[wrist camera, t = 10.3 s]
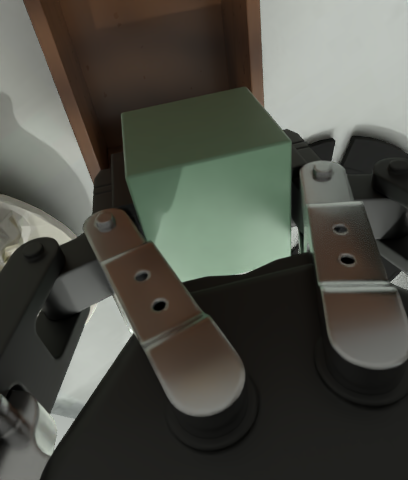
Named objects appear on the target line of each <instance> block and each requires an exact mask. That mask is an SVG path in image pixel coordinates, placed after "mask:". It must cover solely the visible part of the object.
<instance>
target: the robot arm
mask: <svg viewBox="0 0 408 480" xmlns="http://www.w3.org/2000/svg"><path fill="white" fill-rule="evenodd" d="M283 131H284V132H285V134H286V135H287V136H288V137H289V138H290V139H291V142H292V157H291V227H294V226H297V227H298V244H299V253H300V254H297V255H293V256H289V257H285V258H280V259H276V260H274V261H272V262H270V263H268V264H266V265H264V266H261V267H259V268H257V269H255V270H253V271H251V272H249V273H246V274H242V275H223V276H206V277H202V278H197V279H193V280H189V281H185V282H181V280H180V279H179V278H178V276H177V275H176V273H175V272H174V271H173V269H172V268H171V266H170V265H169V264H168V262H167V261H166V259H165V258H164V257H163V255H162V254H161V252H160V251H159V250H158V248H157V247H156V245H155V244H154V243H153V242H152V241H151V240H149V241H147V242H146V240H145V239H144V236H143V232H142V229H141V226H140V223H139V220H138V217H137V214H136V210H135V207H134V204H133V201H132V198H131V195H130V192H129V188H128V185H127V182H126V179H125V165H124V151H123V152H118V153H114V154H111V168H109V169H104V170H100V171H99V173H98V174H97V176H96V177H95V178H94V191H93V194H94V196H93V213H92V215H91V216H90V217H88V218H87V219H86V221H85V222H84V224H83V231H84V233H83V234H81V235H80V236H78V237H77V238H75V239H73V240H71V241H69V242H66V243H64V244H62V245H60V246H59V244H58V242H57V241H56V240H55V239H54V238H51V237H40V238H35V239H32V240H30V241H28V242H26V243H24V244H22V245H21V246H20V247H18V248H17V249H16V250H15V251H14V253H13V254H12V255H11V257H10V258H9V260H8V261H7V263H6V264H5V266H4V267H3V269H2V270H1V272H0V480H408V290H405V289H403V288H401V287H398V286H396V285H394V284H392V283H390V282H389V280H388V277H387V274H386V271H385V268H384V265H383V261H382V258H381V256H382V257H384V258H385V259H387V260H388V261H389V262H391V263H392V264H393V265H395V266H396V267H398V268H399V269H400V270H402V271H403V272H405V273H406V274H407V275H408V159H406V158H397V157H394V158H386V159H383V160H380V161H378V162H377V163H376V164H375V165H374V167H373V174H358V175H350V174H346V171H345V169H344V167H343V166H341V165H340V164H338V163H335V162H331V161H322V160H321V159H320V158H319V157H318V156H317V155H316V153H315V152H314V151H313V150H312V149H311V148H310V147H309V146H308V144H307V143H306V142H304V140H303V139H302V138H301V137H300V136H299V134H297V133H295V132H293V131H290V130H288V129H285V130H283ZM111 295H112V296H113V298H114V300H115V302H116V304H117V306H118V308H119V310H120V313H121V315H122V317H123V319H124V321H125V323H126V325H127V327H128V329H129V331H130V333H131V335H132V336H131V337H130V339H129V340H128V342H127V343H126V345H125V346H124V348H123V349H122V351H121V352H120V354H119V355H118V357H117V358H116V360H115V361H114V363H113V364H112V366H111V367H110V369H109V370H108V371H107V373H106V374H105V376H104V377H103V379H102V380H101V382H100V383H99V385H98V386H97V388H96V389H95V391H94V392H93V394H92V395H91V397H90V398H89V400H88V401H87V403H86V404H85V406H84V407H83V409H82V410H81V412H80V413H79V415H78V416H77V417H76V419H75V421H74V422H73V423H72V425H71V427H70V428H69V429H68V431H67V433H66V434H65V436H64V437H63V438H62V440H61V442H60V443H59V444H58V446H57V447H56V449H55V450H54V445H55V441H56V436H57V427H56V423H55V421H54V419H53V418H52V417H51V416H50V413H51V410H52V408H53V405H54V403H55V400H56V397H57V395H58V392H59V390H60V387H61V385H62V382H63V380H64V377H65V374H66V372H67V369H68V367H69V364H70V362H71V359H72V356H73V354H74V351H75V349H76V346H77V344H78V341H79V338H80V336H81V333H82V331H83V328H84V326H85V323H86V321H87V318H88V315H89V313H90V306H92V305H94V304H96V303H98V302H100V301H101V300H103V299H105V298H107V297H109V296H111ZM38 314H39V315H38Z"/></svg>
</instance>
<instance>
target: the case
mask: <svg viewBox="0 0 408 480" xmlns="http://www.w3.org/2000/svg"><path fill="white" fill-rule="evenodd" d="M23 2H24V4H25V7H26V9H27V12H28V15H29V17H30V20H31V22H32V25H33V28H34V30H35V33H36V35H37V38H38V41H39V43H40V46H41V49H42V51H43V54H44V56H45V59H46V62H47V64H48V67H49V69H50V72H51V75H52V77H53V80H54V82H55V85H56V88H57V90H58V93H59V96H60V98H61V101H62V103H63V106H64V109H65V111H66V114H67V116H68V119H69V122H70V124H71V127H72V129H73V132H74V135H75V137H76V140H77V142H78V145H79V148H80V150H81V153H82V156H83V158H84V161H85V163H86V166H87V169H88V171H89V174H90V176H91V179H92V182H93V184H94V178H95V177H96V176H97V174H98V173H99V171H100V170H104V169H109V168H111V154H114V153H118V152H123V138H122V124H121V114H122V113H123V112H128V111H133V110H137V109H142V108H147V107H151V106H156V105H161V104H165V103H170V102H175V101H179V100H184V99H189V98H193V97H198V96H203V95H207V94H212V93H217V92H221V91H226V90H231V89H235V88H240V87H247V88H248V89H249V91H250V92H251V93H252V94H253V95H254V97H255V98H256V99H257V100H258V101H259V102H260V104H261V105H262V106H263V107H264V92H263V67H262V43H261V19H260V0H23Z"/></svg>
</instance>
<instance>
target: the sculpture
mask: <svg viewBox="0 0 408 480" xmlns="http://www.w3.org/2000/svg"><path fill="white" fill-rule="evenodd" d="M40 237H51V238H54V239H55V240H56V241H57V242H58V244H59V246H60V245H62V244H64V243H66V242H69V241H71V240H73V239H75V238H77V236H76V235H75V234H74V233H73V232H72V231H71V230H70V229H69V228H68V227H67V226H65V225H64V224H63V223H61V222H60V221H58V220H57V219H55V218H54V217H52V216H50V215H49V214H47V213H45V212H44V211H42V210H40V209H39V208H36V207H34V206H32V205H30V204H28V203H25V202H23V201H20V200H18V199H15V198H12V197H10V196H7V195H3V194H0V272H1V270H2V269H3V267H4V266H5V264H6V263H7V261H8V260H9V258H10V257H11V255H12V254H13V253H14V251H15V250H16V249H17V248H18V247H20V246H21V245H22V244H24V243H26V242H28V241H30V240H32V239H35V238H40ZM96 306H97V303H96V304H94V305H92V306H90V313H89V315H88V318H87V321H86V323H85V325H86V324H87V322H88V321H89V319H90V318H91V316H92V314H93V312H94V311H95V309H96ZM38 315H39V314H38Z"/></svg>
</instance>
